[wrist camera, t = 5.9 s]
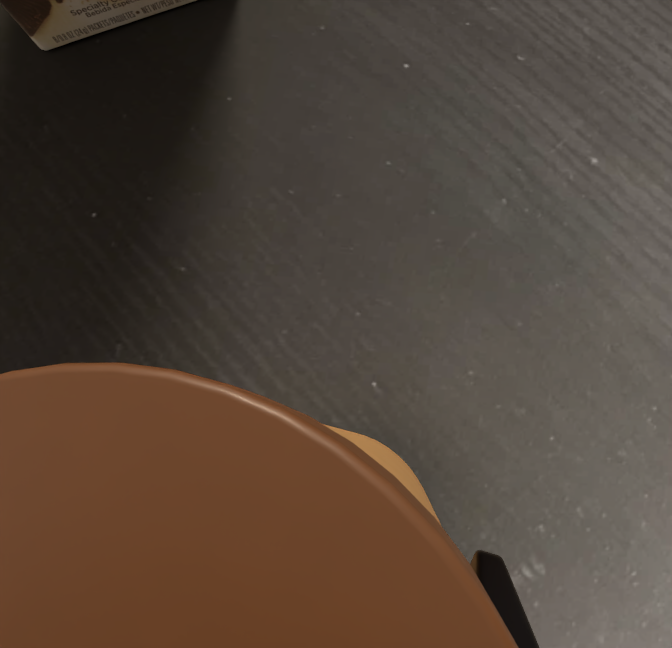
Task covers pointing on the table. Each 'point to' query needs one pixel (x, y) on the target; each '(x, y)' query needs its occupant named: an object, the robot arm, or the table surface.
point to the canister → (214, 523)
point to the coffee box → (79, 17)
